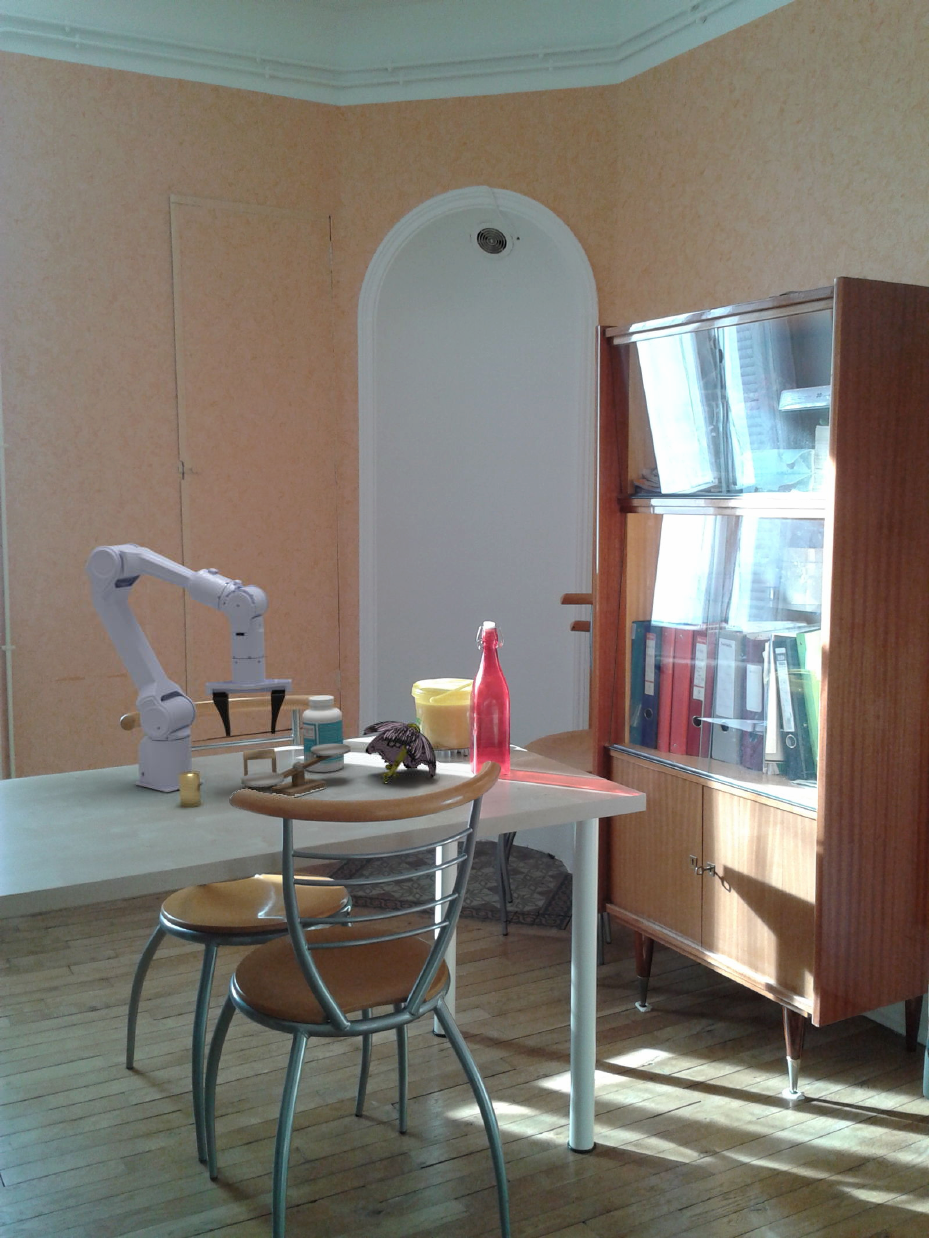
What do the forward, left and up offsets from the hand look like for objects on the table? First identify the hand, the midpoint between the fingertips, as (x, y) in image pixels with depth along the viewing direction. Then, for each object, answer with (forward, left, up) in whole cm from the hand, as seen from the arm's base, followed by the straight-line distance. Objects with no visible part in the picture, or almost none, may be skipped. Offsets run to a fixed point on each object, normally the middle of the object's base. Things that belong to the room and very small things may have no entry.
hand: (250, 733), depth 194 cm
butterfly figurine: (+17, +21, -10) cm, 28 cm away
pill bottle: (0, +18, -10) cm, 20 cm away
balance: (+8, +4, -10) cm, 13 cm away
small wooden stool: (0, +1, -10) cm, 10 cm away
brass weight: (-1, -12, -10) cm, 16 cm away
